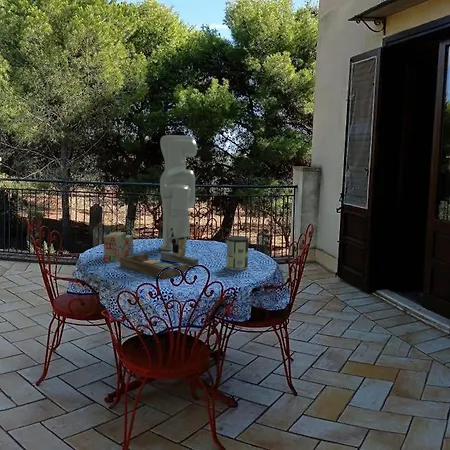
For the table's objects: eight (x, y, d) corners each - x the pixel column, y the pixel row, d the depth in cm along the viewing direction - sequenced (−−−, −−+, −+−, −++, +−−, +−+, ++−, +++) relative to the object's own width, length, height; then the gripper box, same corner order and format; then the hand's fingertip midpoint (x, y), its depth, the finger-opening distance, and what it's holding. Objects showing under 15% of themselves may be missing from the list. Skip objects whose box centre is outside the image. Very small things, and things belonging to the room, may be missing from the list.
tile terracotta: (152, 265, 232) (152, 259, 231) (161, 268, 228) (161, 261, 228) (142, 267, 227) (142, 261, 227) (151, 270, 223) (151, 263, 223)
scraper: (165, 257, 244) (166, 234, 242) (198, 265, 230) (199, 242, 228) (159, 258, 241) (160, 235, 239) (192, 266, 227) (193, 243, 225)
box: (145, 261, 238) (146, 253, 238) (188, 272, 220) (188, 264, 220) (120, 266, 227) (120, 257, 226) (163, 279, 209) (163, 269, 208)
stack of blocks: (121, 252, 257) (121, 228, 255) (133, 253, 256) (133, 229, 254) (103, 261, 236) (103, 235, 234) (116, 262, 235) (116, 236, 233)
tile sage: (163, 268, 227) (164, 262, 227) (172, 271, 223) (173, 264, 223) (153, 270, 223) (153, 264, 222) (162, 273, 219) (162, 266, 218)
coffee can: (237, 263, 241) (238, 235, 239) (252, 268, 233) (253, 238, 231) (221, 266, 234) (222, 237, 232) (236, 271, 226) (237, 240, 224)
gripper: (186, 210, 240) (185, 248, 243) (161, 213, 228) (160, 253, 231) (198, 212, 236) (197, 250, 239) (172, 215, 223) (171, 255, 226)
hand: (179, 251), depth 235 cm, fingers closed on scraper, 4 cm apart
